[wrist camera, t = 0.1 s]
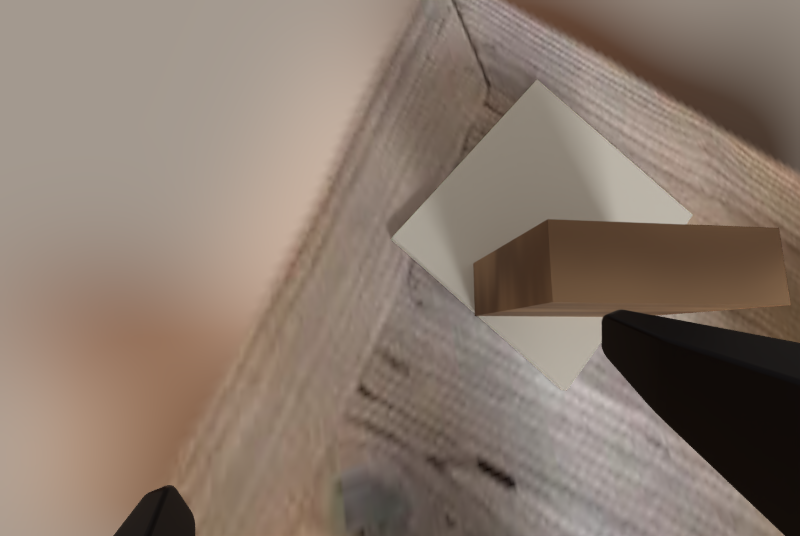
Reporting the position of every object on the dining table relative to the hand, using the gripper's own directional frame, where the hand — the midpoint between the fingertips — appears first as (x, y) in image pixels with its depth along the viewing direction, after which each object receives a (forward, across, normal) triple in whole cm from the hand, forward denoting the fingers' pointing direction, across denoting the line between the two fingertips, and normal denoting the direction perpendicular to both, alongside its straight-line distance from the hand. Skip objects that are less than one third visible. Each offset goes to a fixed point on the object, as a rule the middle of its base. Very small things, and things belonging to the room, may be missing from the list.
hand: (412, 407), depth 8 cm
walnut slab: (+12, -11, +7) cm, 18 cm away
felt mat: (+15, -13, +4) cm, 20 cm away
